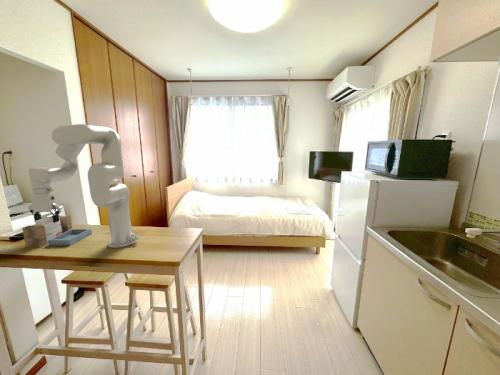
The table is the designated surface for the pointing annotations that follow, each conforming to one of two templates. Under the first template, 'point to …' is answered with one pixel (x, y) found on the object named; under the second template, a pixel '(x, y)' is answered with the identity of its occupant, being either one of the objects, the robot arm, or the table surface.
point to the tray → (69, 237)
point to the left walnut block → (34, 236)
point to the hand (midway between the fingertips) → (47, 221)
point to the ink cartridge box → (49, 226)
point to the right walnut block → (65, 223)
